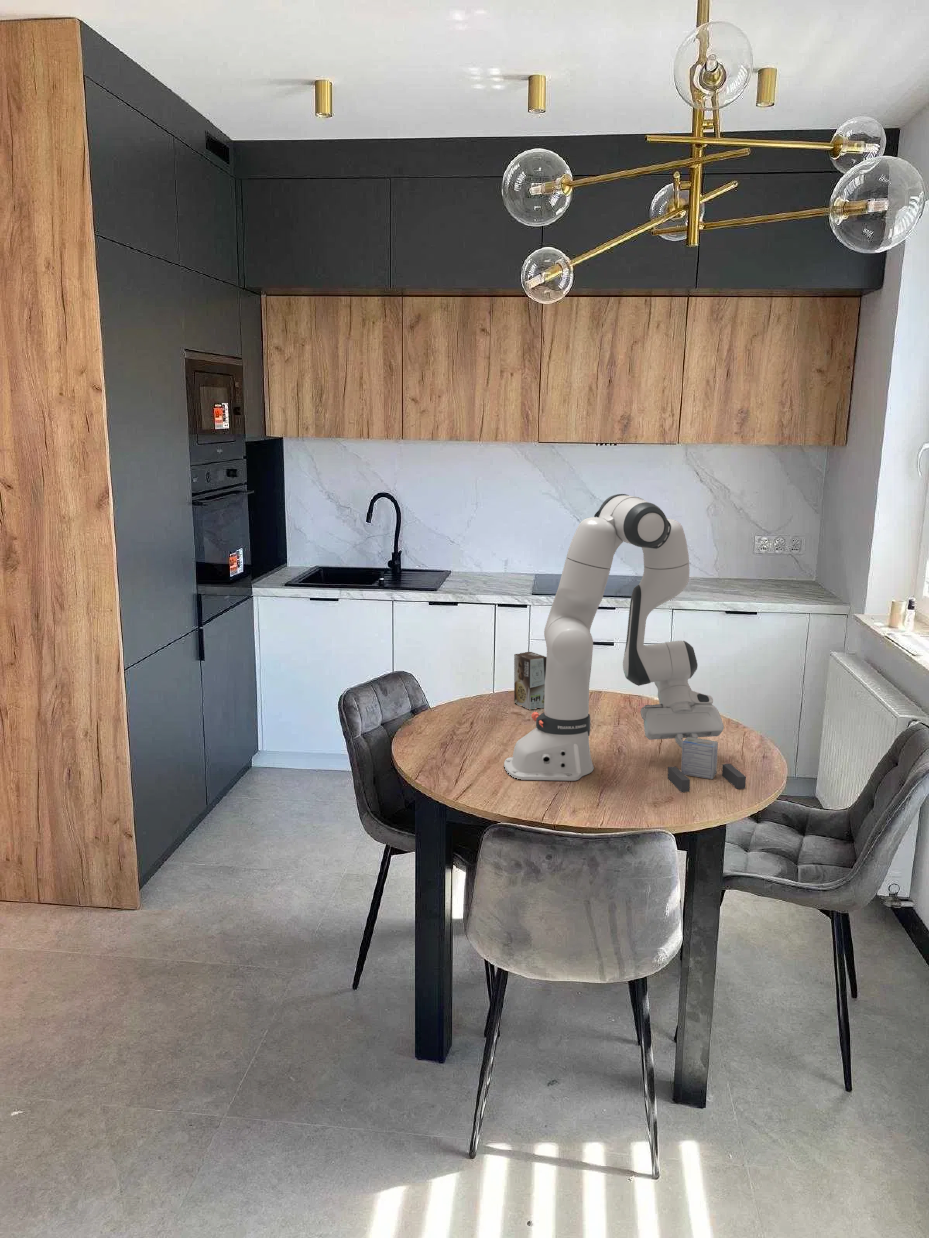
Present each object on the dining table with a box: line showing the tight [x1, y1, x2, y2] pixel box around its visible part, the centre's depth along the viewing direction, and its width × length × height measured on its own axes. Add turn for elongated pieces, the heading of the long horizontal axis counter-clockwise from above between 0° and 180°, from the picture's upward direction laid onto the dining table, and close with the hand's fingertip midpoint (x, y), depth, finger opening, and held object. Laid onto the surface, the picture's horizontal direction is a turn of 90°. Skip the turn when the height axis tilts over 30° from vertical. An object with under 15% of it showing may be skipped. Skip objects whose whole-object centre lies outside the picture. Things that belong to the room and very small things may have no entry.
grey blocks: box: [667, 763, 747, 793], centre depth 227 cm, size 16×9×3 cm, turn 98°
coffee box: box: [513, 651, 547, 710], centre depth 290 cm, size 9×6×16 cm
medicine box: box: [680, 737, 719, 780], centre depth 232 cm, size 8×4×9 cm, turn 62°
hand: (689, 752), depth 236 cm, fingers closed
